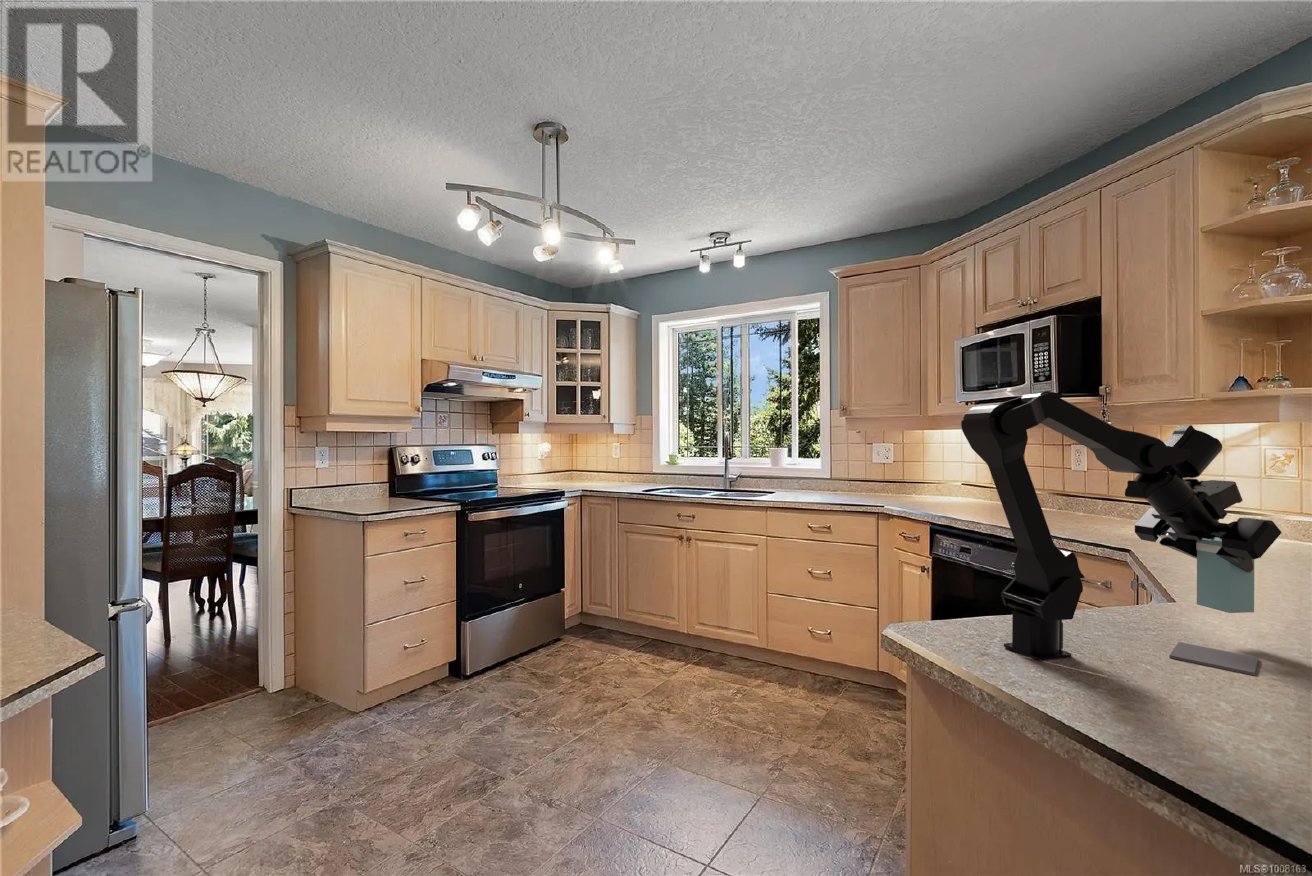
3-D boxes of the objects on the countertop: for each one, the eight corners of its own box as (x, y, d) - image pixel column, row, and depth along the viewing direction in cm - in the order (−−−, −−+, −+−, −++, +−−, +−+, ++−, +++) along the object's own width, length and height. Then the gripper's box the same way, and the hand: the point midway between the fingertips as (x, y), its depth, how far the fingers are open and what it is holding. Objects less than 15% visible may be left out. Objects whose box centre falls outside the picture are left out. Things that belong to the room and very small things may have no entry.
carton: (1229, 613, 94) (1229, 537, 94) (1196, 604, 99) (1196, 532, 99) (1254, 612, 94) (1255, 537, 94) (1220, 603, 99) (1220, 532, 99)
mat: (1254, 675, 83) (1254, 672, 83) (1169, 657, 89) (1169, 655, 89) (1258, 660, 89) (1258, 657, 89) (1178, 644, 96) (1178, 642, 96)
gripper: (1270, 465, 87) (1334, 540, 88) (1149, 461, 105) (1203, 523, 107) (1223, 520, 86) (1288, 595, 87) (1108, 506, 104) (1164, 568, 106)
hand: (1232, 566), depth 97 cm, fingers closed on carton, 5 cm apart
